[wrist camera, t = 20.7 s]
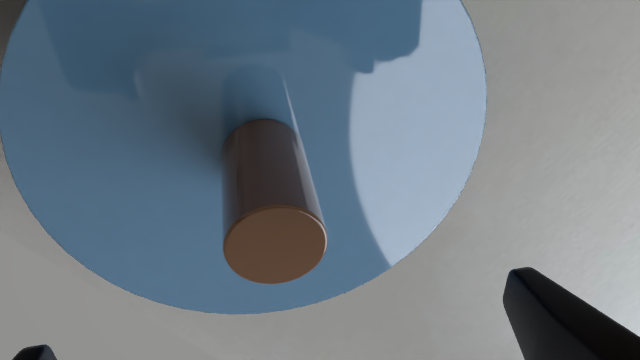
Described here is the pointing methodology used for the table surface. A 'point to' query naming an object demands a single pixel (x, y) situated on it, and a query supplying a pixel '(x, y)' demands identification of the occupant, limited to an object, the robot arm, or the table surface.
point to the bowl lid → (241, 139)
